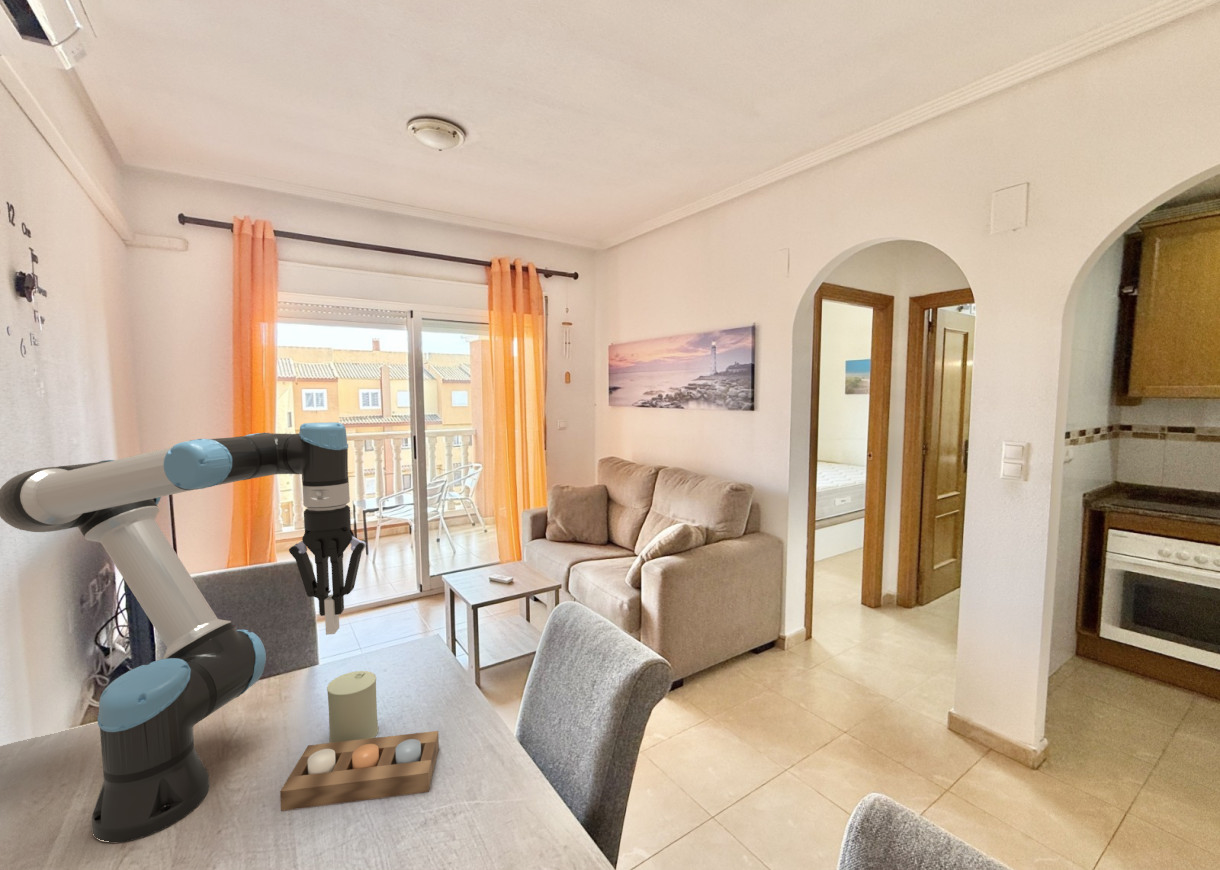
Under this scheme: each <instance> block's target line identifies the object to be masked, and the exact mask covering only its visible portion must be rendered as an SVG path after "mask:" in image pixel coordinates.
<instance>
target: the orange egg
mask: <svg viewBox="0 0 1220 870" xmlns="http://www.w3.org/2000/svg"><path fill="white" fill-rule="evenodd" d="M378 762H379V749H378V746H377V745H375V744H366V745H363V746H360V747H359V748H357V749H356V750H355V751H354V752H353V754H352V764H353V769H360V768H368V767H377V765H378Z"/></svg>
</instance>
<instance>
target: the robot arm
mask: <svg viewBox="0 0 1220 870" xmlns="http://www.w3.org/2000/svg"><path fill="white" fill-rule="evenodd" d="M348 449H349V443H348V439H347V429H346V426H345V425H344V424H343V423H342V422H338V421H337V422H335V421H333V422H331V421H330V422H329V421H328V422H307V423H306V422H305V423H302V424H300V426H299V432H298V433H271V432H257V433H251V434H250V433H249V434H246V435H243V436H233V437H220V438H219V437H218V438H197V439H192V440H191V439H190V440H187V441H182V442H178V443H176V444H174V445H173V446H171V447H168V448H163V449H159V450H154V451H151V452H150V451H149V452H145V453H142V454H137V455H133V456H128V457H123V458H119V459H107V460H105V459H104V460H100V461H98V462H88V463H80V464H71V465H60V466H48V467H42V468H36V469H32V470H28V471H24V472H22V473H20V474H19V473H18V474H17V475H15V476H13V477H12V478H10V479H8V480H7V481H5V483H3V485H2V486H1V487H0V518H1V520H3V522H5V523H6V524H7V525H9V526H10V527H13V528H15V529H18V530H20V531H26V532H31V533H50V532H58V531H64V530H67V529H73V528H78V529H79V531H80V532H81V534H82V535H83V537H84V539H85V540H86V541H90V542H94V543H100V544H101V545H102V546H103V549H104V550H105V552H106V553H107V555H108V556H109V557H110V559H111V561H112V562H113V564H114V565H115V568H116V569H117V570H118V572H119V574H120V575H121V577H122V578H123V580H124V581H125V584H126V585H127V586H128V588H129V589H130V591H131V592H132V594H133V596H134V597H135V599H136V600H137V602H138V603H139V605H140V607H141V608H142V610H143V612H144V614H146V616H147V617H148V619H149V621H150V622H151V624H152V626H153V627H154V629H155V631H156V632H157V634H158V635H159V637H160V638H161V640H162V641H163V643H164V645H165V646H166V651H165V653H164V656H163V657H162V659H159V660H155V661H151V662H150V663H148V664H142V665H139V666H136V667H134V668H133V669H131V670H128V671H126V672H125V673H123V674H121V675H120V676H118V677H117V678H115V679H114V680H112V682H110V683H109V684H108V685H107V687H106V688H105V689H104V690H103V691H102V693H101V695H100V698H99V702H98V714H97V725H98V727H99V734H100V748H101V758H102V759H101V760H102V771H103V782H102V785H101V787H100V790H99V794H98V796H97V800H96V803H95V806H94V808H93V812H92V815H91V832H93V833H92V835H93V834H94V836H95V837H96V838H98V839H100V840H104V841H109V842H118V843H123V842H124V843H125V842H130V841H134V840H138V839H141V838H145V837H147V836H150V835H152V834H154V833H158V832H160V831H161V830H163V829H165V828H167V827H170V826H172V825H173V824H175V823H176V822H179V820H181V819H183V818H185V817H186V816H187V815H188V814H190V813H191V812H193V810H195V809H196V808H197V807H198V806H199V805H200V804H201V803H202V801H203V800H204V799H205V798H206V796H207V795H208V792H209V789H210V777H209V772H208V770H207V768H206V767H205V765H204V763H203V760H202V759H201V758H200V757H201V756H199V754H198V752H197V750H196V748H195V741H194V740H195V739H194V726H195V725H196V724H198V723H200V722H201V721H203V720H204V719H205V718H207V717H209V716H210V715H211V714H213V713H214V712H217V710H219V709H221V708H222V707H224V706H225V705H226V704H228V703H230V702H231V701H233V700H234V699H237V698H239V697H240V696H241V695H243V694H244V693H245V692H247V690H249V689H250V688H251V687H253V685H255V684H256V683H257V682H259V679H260V678H261V677H262V675H263V673H264V671H265V665H266V663H267V662H266V661H267V655H266V654H267V653H266V649H265V646H264V643H263V641H262V640H261V638H260V637H259V636H258V635H257V634H256V633H255V632H253V631H251V632H250V630H248V629H237V628H236V627H235V626H234V624H233V622H232V621H231V620H224V619H220V618H218V617H217V615H216V613H215V612H214V610H213V609H212V608H211V606H210V604H209V603H208V602H207V600H206V598H205V597H204V595H203V593H202V592H201V590H200V589H199V587H198V585H197V584H196V582H195V581H194V579H193V578H192V576H191V574H190V573H189V571H188V570H187V568H186V566H185V565H184V563H183V562H182V560H181V559H180V558H179V556H178V554H177V552H176V551H175V549H174V547H173V546H172V545H171V543H170V542H169V540H168V538H167V537H166V535H165V534H164V532H163V531H162V529H161V527H160V526H159V525H158V523H157V521H156V518H157V516H158V515H159V512H160V508H159V507H158V504H159V502H161V498H162V497H165V496H171V495H175V494H179V493H185V492H191V491H194V490H203V489H206V488H211V487H216V486H221V485H226V484H229V483H235V482H239V481H245V480H252V479H256V478H257V479H258V478H261V477H268V476H275V475H301V482H302V501H303V502H302V503H303V504H302V505H303V506H304V507H305V510H304V511H303V523H304V525H303V526H304V527H303V528H304V534H303V536H302V540H301V541H300V542H299V543H296V544H294V545H292V546H291V547H289V549H288V552H289V554H290V555H291V556H292V557H293V559H294V560H295V562H296V565H297V568H298V573H299V574H300V577H301V581H302V584H303V587H304V590H305V593H306V596H307V597H309V598H312V597H314V598H317V601H318V610H319V612H318V613H319V616H320V617H323V616H324V622H325V623H324V624H325V625H324V626H325V635H326V636H327V635H335V634H336V633H337V632H338V630H339V629H340V615H341V614H343V612H344V610H345V602H344V601H345V600H344V596H346V595H349V594H350V593H351V592H352V591H353V590H354V588H355V586H356V585H355V584H356V581H357V575H358V571H359V566H360V561H361V557H362V552H363V551H364V549H365V548H366V547H367V545H368V541H367V540H365V539H362V540H361V539H358V538H356V537H355V534H354V532H353V530H352V526H351V525H352V523H351V507H350V506H349V505H348V504H349V503H350V501H351V500H350V499H351V497H350V482H349V465H348V464H349V461H348V458H349V456H348V451H349V450H348ZM349 545H350V549H351V551H352V552H351V554H350V558H349V563H348V568H347V571H346V577H345V580H344V559H343V558H344V552H345V551H346V549H347V548H348V546H349ZM308 550H309V551H310V552H311V553H312V554H313V555H314V563H315V567H316V569H315V570H316V571H315V572H316V575H315V572H314V569H313V566H312V563H311V560H310V556H309V554H308ZM329 562H330V563H331V567H330V568H331V581H332V582H331V583H332V585H331V586H332V594H330V593H331V589H330V578H329V577H330V576H329V575H330V574H329ZM94 836H93V837H94ZM95 837H94V838H95ZM96 838H95V839H96Z"/></svg>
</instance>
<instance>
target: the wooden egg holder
mask: <svg viewBox="0 0 1220 870" xmlns="http://www.w3.org/2000/svg"><path fill="white" fill-rule="evenodd" d="M439 735H440V734H439V730H434V731H433V730H432V731H425V732H424V731H423V732H416V733H414V732H413V733H407V734H398V735H397V734H396V735H389V736H388V735H387V736H379V737H378V736H377V737H374V738H370V739H361V740H352V741H343V742H334V743H329V742H326V743H317V744H309V745H307V747H306V748H304V751H303V752H302V754H301V756H300V758H299V759H298V761H297V763H296V764H295V766H294V768H293V769H292V771H291V772H290V774H289V776H288V778H287V779H286V780H285V783H284V784H283V786H282V787H281V789H280V791H279V797H280V799H279V801H280V811H281V812H283V811H284V812H285V811H291V810H298V809H299V810H300V809H307V808H313V807H322V806H328V805H329V806H331V805H337V804H344V803H351V802H353V803H354V802H359V801H367V800H368V801H369V800H376V799H382V798H383V799H384V798H391V797H398V796H399V797H400V796H405V795H413V794H422V793H429V791H430V789H431V784H432V779H433V775H434V770H435V766H436V762H437V759H438V758H437V757H438V754H439V748H440V742H439V741H440V740H439V739H440V737H439ZM409 739H416V740H419V741H420V743H421V761H418V762H410V763H401V764H396V747H397V745H398V744H400V743H401V742H403V741H405V740H409ZM366 744H375V745H377V746H378V749H379V762H378V765H377V767H368V768H360V769H353V764H352V754H353V752H354V751H355V750H356V749H357V748H359V747H360V746H363V745H366ZM323 749H332V750H334V751H335V761H336V765H335V767H334V769H333V771H332V772H327V773H319V774H310V775H308V758H309V757H310V756H311V755H312V754H313V753H315V752H317V751H319V750H323Z"/></svg>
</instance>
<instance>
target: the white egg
mask: <svg viewBox="0 0 1220 870" xmlns="http://www.w3.org/2000/svg"><path fill="white" fill-rule="evenodd" d="M335 765H336V761H335V751H334V750H332V749H323V750H319V751H317V752H315V753H313V754H312V755H311V756H310V757H309V758H308V775H310V774H319V773H327V772H332V771H333V769H334V767H335Z"/></svg>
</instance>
